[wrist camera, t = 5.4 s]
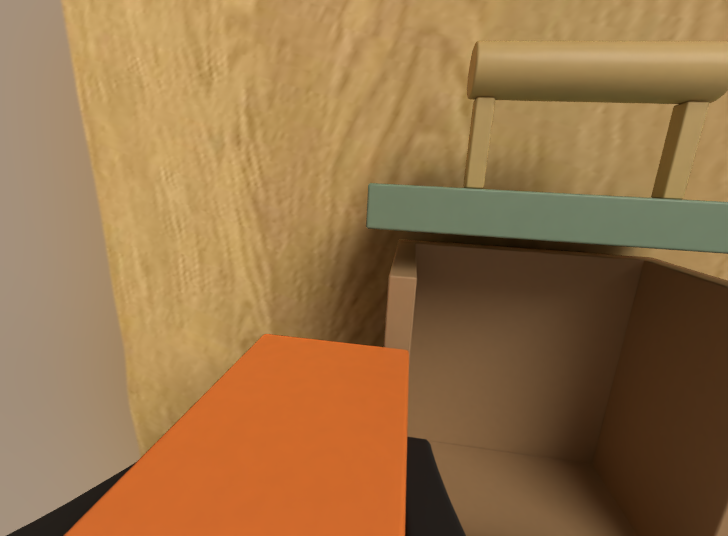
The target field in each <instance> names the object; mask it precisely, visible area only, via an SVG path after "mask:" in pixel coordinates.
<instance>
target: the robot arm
mask: <svg viewBox="0 0 728 536" xmlns="http://www.w3.org/2000/svg"><path fill="white" fill-rule="evenodd" d="M134 464H135V463H134ZM134 464H133V465H134ZM133 465H131V466H129V467H128V468H126V469H124V470H123V471H121V472H119V473H118V474H116V475H114V476H113V477H111V478H109V479H108V480H106V481H104V482H102V483H101V484H99V485H97V486H96V487H94V488H92V489H90V490H89V491H87V492H85V493H84V494H82V495H80V496H79V497H77V498H75V499H74V500H72V501H70V502H69V503H67V504H65V505H63V506H61V507H59V508H58V509H56V510H54V511H52V512H50V513H48V514H47V515H45V516H43V517H41V518H39V519H37V520H36V521H34V522H32V523H30V524H28V525H26V526H24V527H22V528H20V529H18V530H16V531H14V532H13V533H11V534H9V535H7V536H64V535H65V534H66V533H67V532H68V531H69V530H70V529H71V528H72V527H73V526H74V524H75V523H76V522H77V521H78V520H79V519H80V518H81V517H82V516H83V515H84V514H85V513H86V512H87V511H88V510H89V509H90V508H91V507H92V506H93V505H94V504H95V503H96V502H97V501H98V500H99V499H100V498H101V497H102V496H103V495H104V494H105V493H106V492H107V491H108V490H109V489H110V488H111V487H112V486H113V485H114V484H115V483H116V482H117V481H118V480H119V479H120V478H121V477H122V476H123V475H124V474H125V473H126V472H127V471H128V470H129V469H130V468H131V467H132V466H133ZM405 536H466V534H465V532H464V530H463V528H462V526H461V523H460V521H459V519H458V517H457V514H456V512H455V510H454V508H453V505H452V503H451V501H450V498H449V496H448V493H447V491H446V488H445V486H444V483H443V481H442V478H441V476H440V473H439V470H438V467H437V464H436V461H435V458H434V455H433V452H432V448H431V444H430V443H429V442H428V440H427V439H421V438H414V437H407V475H406V521H405Z"/></svg>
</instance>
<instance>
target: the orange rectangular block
mask: <svg viewBox="0 0 728 536" xmlns="http://www.w3.org/2000/svg"><path fill="white" fill-rule="evenodd" d="M408 384H409V352H408V350H404V349H395V348H386V347H377V346H368V345H360V344H351V343H342V342H333V341H324V340H316V339H307V338H298V337H289V336H280V335H271V334H264V335H263V336H262V337H261V338H260V339H259V340H258V341H257V342H256V343H255V344H254V345H253V346H252V347H251V348H250V349H249V350H248V351H247V352H246V353H245V354H244V355H243V356H242V357H241V358H240V359H239V360H238V361H237V362H236V363H235V364H234V365H233V366H232V367H231V368H230V369H229V370H228V371H227V372H226V373H225V374H224V375H223V376H222V377H221V378H220V379H219V380H218V381H217V382H216V383H215V384H214V385H213V386H212V387H211V388H210V389H209V390H208V391H207V392H206V393H205V394H204V395H203V396H202V397H201V398H200V399H199V400H198V401H197V402H196V403H195V404H194V405H193V406H192V407H191V408H190V409H189V410H188V411H187V412H186V413H185V414H184V415H183V416H182V417H181V418H180V419H179V420H178V421H177V422H176V423H175V424H174V425H173V426H172V427H171V428H170V429H169V430H168V431H167V432H166V433H165V434H164V435H163V436H162V437H161V438H160V439H159V440H158V441H157V442H156V443H155V444H154V445H153V446H152V447H151V448H150V449H149V450H148V451H147V452H146V453H145V454H144V455H143V456H142V457H141V458H140V459H139V460H138V461H137V462H136V463H135V464H134V465H133V466H132V467H131V468H130V469H129V470H128V471H127V472H126V473H125V474H124V475H123V476H122V477H121V478H120V479H119V480H118V481H117V482H116V483H115V484H114V485H113V486H112V487H111V488H110V489H109V490H108V491H107V492H106V493H105V494H104V495H103V496H102V497H101V498H100V499H99V500H98V501H97V502H96V503H95V504H94V505H93V506H92V507H91V508H90V509H89V510H88V511H87V512H86V513H85V514H84V515H83V516H82V517H81V518H80V519H79V520H78V521H77V522H76V523H75V524H74V526H73V527H72V528H71V529H70V530H69V531H68V532H67V533H66V534H65V535H64V536H405V521H406V475H407V430H408Z"/></svg>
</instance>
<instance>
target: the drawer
mask: <svg viewBox="0 0 728 536" xmlns="http://www.w3.org/2000/svg"><path fill="white" fill-rule="evenodd" d="M727 91H728V41H477V42H476V43H475V46H474V48H473V52H472V56H471V62H470V67H469V74H468V84H467V96H468V99H475V101H474V103H473V110H472V118H471V127H470V135H469V143H468V152H467V160H466V169H465V177H464V185H463V186H464V188H453V187H434V186H415V185H397V184H377V183H370V184H369V185H368V201H367V220H366V227H367V228H368V229H382V230H397V231H411V232H425V233H440V234H454V235H468V236H483V237H497V238H511V239H526V240H540V241H555V242H569V243H583V244H598V245H612V246H626V247H641V248H655V249H669V250H684V251H698V252H712V253H727V254H728V202H717V201H698V200H681V199H683V198H684V195H685V191H686V187H687V184H688V180H689V177H690V173H691V169H692V166H693V162H694V158H695V155H696V151H697V147H698V144H699V140H700V136H701V133H702V129H703V125H704V122H705V118H706V114H707V111H708V107H709V103H711V102H714V101H716V100H717V99H719V98H720V97H721V96H723V95H724V94H725V93H726V92H727ZM495 100H520V101H566V102H612V103H657V104H679V105H676V106H674V108H673V112H672V116H671V120H670V124H669V128H668V132H667V136H666V140H665V144H664V148H663V152H662V156H661V160H660V164H659V168H658V172H657V176H656V180H655V184H654V188H653V192H652V196H651V197H652V198H641V197H623V196H604V195H585V194H566V193H547V192H528V191H510V190H491V189H483V187H484V182H485V174H486V167H487V159H488V152H489V144H490V137H491V129H492V122H493V114H494V107H495ZM384 347H386V348H395V349H404V350H408V352H409V384H408V430H407V437H414V438H421V439H427V440H428V442H429V443H430V444H431V448H432V452H433V455H434V458H435V461H436V464H437V467H438V470H439V473H440V476H441V478H442V481H443V483H444V486H445V488H446V491H447V493H448V496H449V498H450V501H451V503H452V505H453V508H454V510H455V512H456V514H457V517H458V519H459V521H460V523H461V526H462V528H463V530H464V532H465V534H466V536H728V281H727V280H724V279H720V278H717V277H714V276H710V275H707V274H704V273H700V272H697V271H694V270H691V269H687V268H684V267H681V266H677V265H674V264H671V263H668V262H664V261H661V260H657V259H654V258H650V257H636V256H622V255H609V254H595V253H581V252H567V251H554V250H540V249H526V248H512V247H499V246H485V245H471V244H457V243H444V242H430V241H416V240H402V239H400V240H399V241H398V244H397V248H396V252H395V255H394V259H393V263H392V267H391V270H390V274H389V280H388V294H387V308H386V322H385V336H384Z"/></svg>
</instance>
